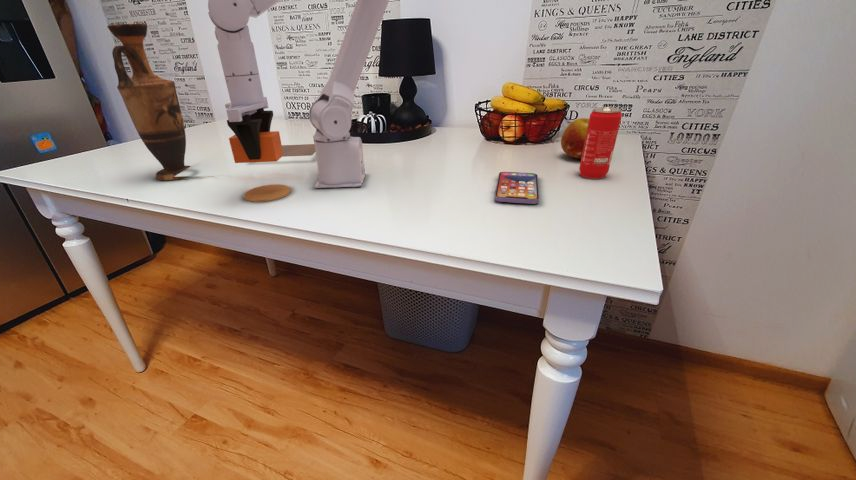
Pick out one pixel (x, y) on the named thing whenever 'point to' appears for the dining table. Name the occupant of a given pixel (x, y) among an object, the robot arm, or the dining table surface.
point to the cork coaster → (267, 193)
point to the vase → (150, 102)
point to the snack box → (269, 148)
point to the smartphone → (517, 188)
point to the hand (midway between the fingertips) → (259, 155)
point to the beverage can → (600, 142)
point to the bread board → (298, 150)
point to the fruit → (575, 137)
